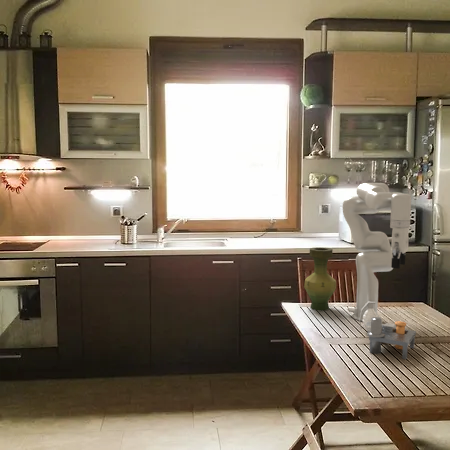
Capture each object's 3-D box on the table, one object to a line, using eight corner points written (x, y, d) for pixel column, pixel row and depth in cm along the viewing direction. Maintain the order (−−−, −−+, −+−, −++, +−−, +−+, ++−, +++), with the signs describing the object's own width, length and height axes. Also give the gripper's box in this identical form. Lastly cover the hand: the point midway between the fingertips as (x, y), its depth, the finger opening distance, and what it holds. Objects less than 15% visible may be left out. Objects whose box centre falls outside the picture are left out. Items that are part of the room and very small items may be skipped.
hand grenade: (360, 333, 212) (361, 303, 210) (357, 328, 218) (358, 299, 216) (379, 334, 211) (380, 304, 209) (375, 329, 217) (377, 300, 216)
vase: (310, 302, 262) (311, 245, 259) (340, 306, 254) (341, 248, 250) (298, 309, 248) (299, 250, 244) (329, 314, 240) (331, 252, 236)
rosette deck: (357, 351, 191) (358, 318, 189) (369, 338, 205) (370, 308, 203) (406, 360, 181) (407, 326, 180) (415, 347, 195) (416, 314, 194)
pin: (392, 348, 194) (393, 323, 193) (395, 345, 197) (396, 320, 197) (404, 350, 192) (405, 325, 191) (406, 347, 195) (407, 322, 194)
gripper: (405, 227, 191) (403, 270, 193) (414, 223, 206) (412, 263, 208) (385, 225, 195) (383, 268, 197) (395, 222, 210) (393, 262, 212)
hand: (398, 266), depth 202 cm, fingers open, 9 cm apart
